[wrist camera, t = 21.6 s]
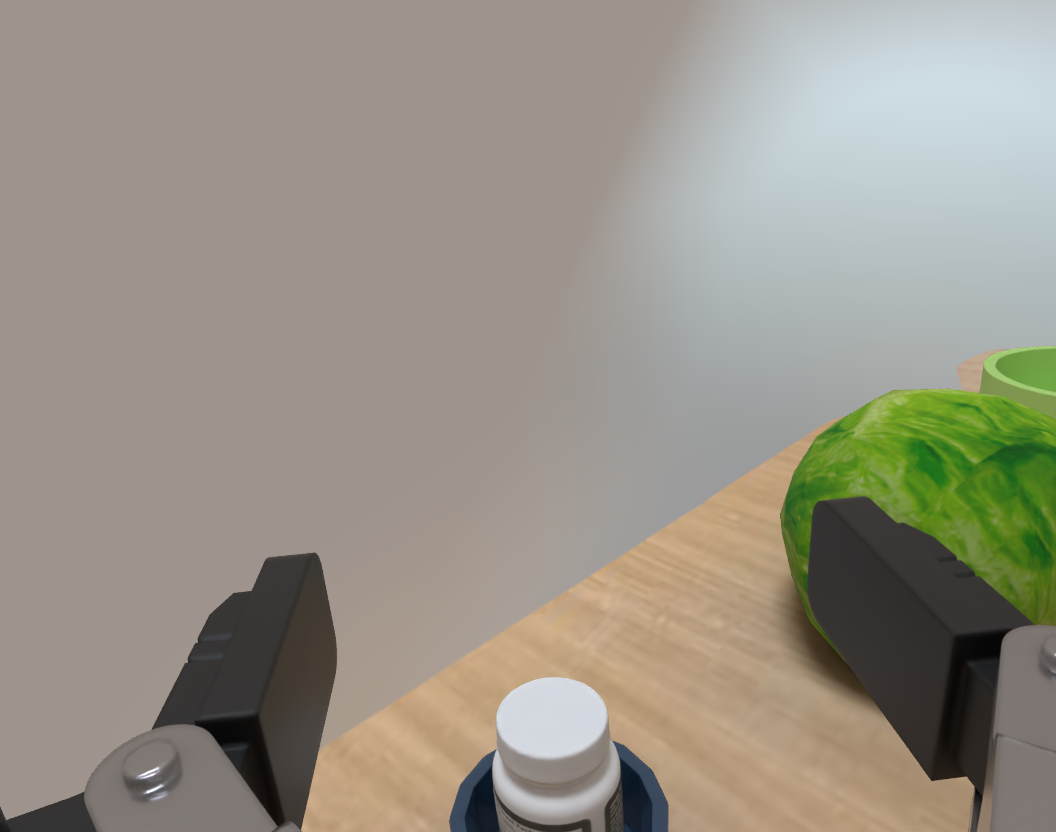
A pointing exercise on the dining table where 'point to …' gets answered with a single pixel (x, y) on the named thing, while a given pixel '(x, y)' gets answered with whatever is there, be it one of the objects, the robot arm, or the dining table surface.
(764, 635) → the dining table surface
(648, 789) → the bottle holder
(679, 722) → the dining table surface
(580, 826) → the pill bottle
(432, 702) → the dining table surface
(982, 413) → the lettuce
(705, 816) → the dining table surface
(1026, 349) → the food container
